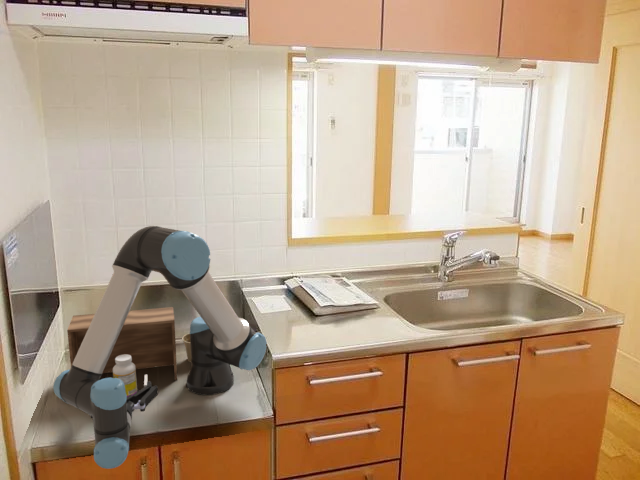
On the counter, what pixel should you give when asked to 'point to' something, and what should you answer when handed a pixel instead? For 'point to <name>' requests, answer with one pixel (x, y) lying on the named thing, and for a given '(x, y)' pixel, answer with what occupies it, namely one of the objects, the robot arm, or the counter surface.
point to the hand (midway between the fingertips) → (122, 381)
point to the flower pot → (187, 345)
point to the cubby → (134, 338)
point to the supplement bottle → (126, 373)
